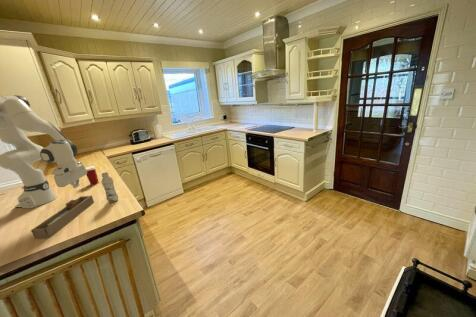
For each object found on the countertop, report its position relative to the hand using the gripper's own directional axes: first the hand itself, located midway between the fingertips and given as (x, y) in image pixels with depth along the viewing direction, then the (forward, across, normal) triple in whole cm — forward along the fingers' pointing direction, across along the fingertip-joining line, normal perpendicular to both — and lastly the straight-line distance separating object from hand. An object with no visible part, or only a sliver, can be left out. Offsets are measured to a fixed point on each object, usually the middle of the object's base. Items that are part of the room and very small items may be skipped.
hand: (76, 187), depth 126 cm
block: (+11, +6, -1) cm, 13 cm away
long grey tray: (+14, +13, -1) cm, 20 cm away
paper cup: (+14, -38, -19) cm, 44 cm away
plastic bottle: (+15, -5, +16) cm, 22 cm away
